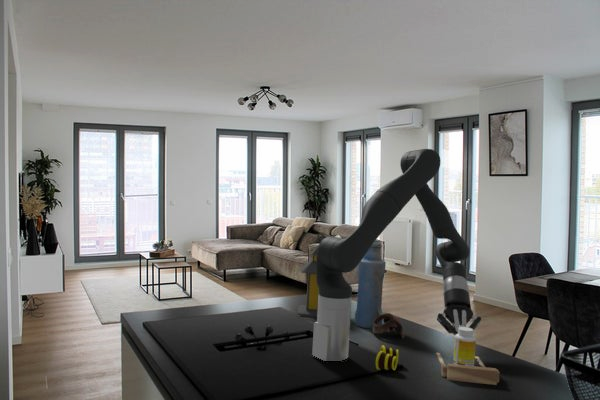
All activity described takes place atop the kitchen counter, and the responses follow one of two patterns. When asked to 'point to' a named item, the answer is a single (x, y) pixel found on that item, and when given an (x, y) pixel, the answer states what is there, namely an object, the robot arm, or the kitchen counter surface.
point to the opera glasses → (387, 358)
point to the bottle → (370, 287)
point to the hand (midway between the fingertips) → (461, 346)
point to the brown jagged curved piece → (387, 324)
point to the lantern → (311, 286)
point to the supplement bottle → (464, 347)
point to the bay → (469, 372)
